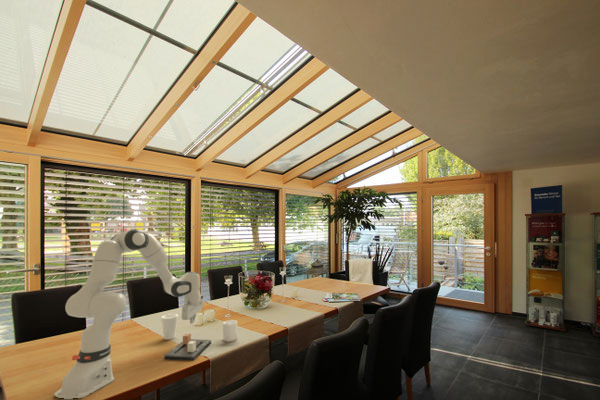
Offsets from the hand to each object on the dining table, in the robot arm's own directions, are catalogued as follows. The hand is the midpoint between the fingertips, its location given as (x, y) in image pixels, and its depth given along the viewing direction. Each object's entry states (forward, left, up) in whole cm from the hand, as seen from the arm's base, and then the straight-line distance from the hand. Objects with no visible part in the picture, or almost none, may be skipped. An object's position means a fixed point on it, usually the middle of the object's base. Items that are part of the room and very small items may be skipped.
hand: (192, 322), depth 182 cm
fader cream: (-17, -8, -10) cm, 22 cm away
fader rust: (-7, 0, -10) cm, 12 cm away
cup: (+8, -20, -12) cm, 25 cm away
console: (-12, -4, -11) cm, 17 cm away
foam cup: (+6, +18, -12) cm, 22 cm away
